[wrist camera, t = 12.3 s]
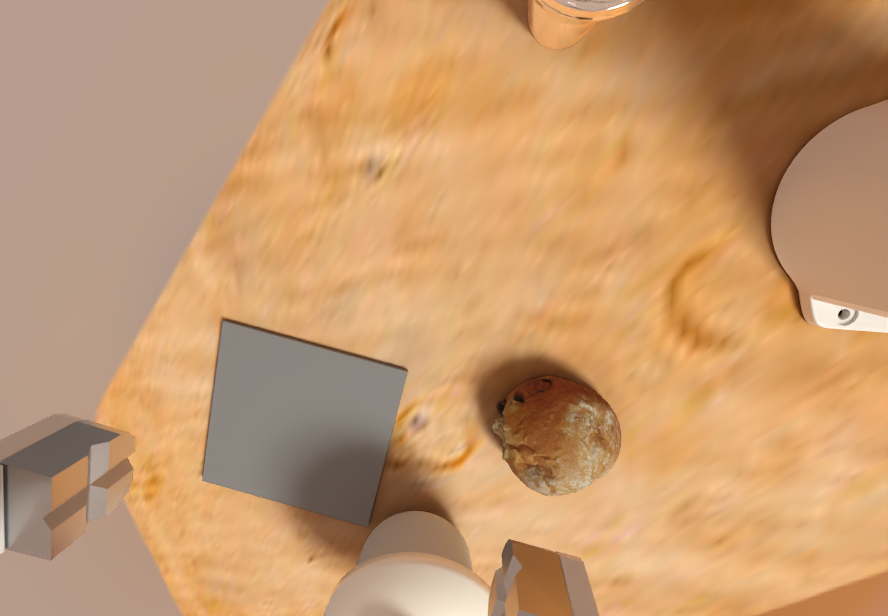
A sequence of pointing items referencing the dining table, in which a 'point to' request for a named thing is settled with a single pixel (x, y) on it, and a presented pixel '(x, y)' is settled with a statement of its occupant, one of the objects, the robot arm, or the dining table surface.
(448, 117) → the dining table surface
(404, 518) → the teacup
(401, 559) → the lid
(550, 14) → the cup with straw
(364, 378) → the mat
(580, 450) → the bread roll
